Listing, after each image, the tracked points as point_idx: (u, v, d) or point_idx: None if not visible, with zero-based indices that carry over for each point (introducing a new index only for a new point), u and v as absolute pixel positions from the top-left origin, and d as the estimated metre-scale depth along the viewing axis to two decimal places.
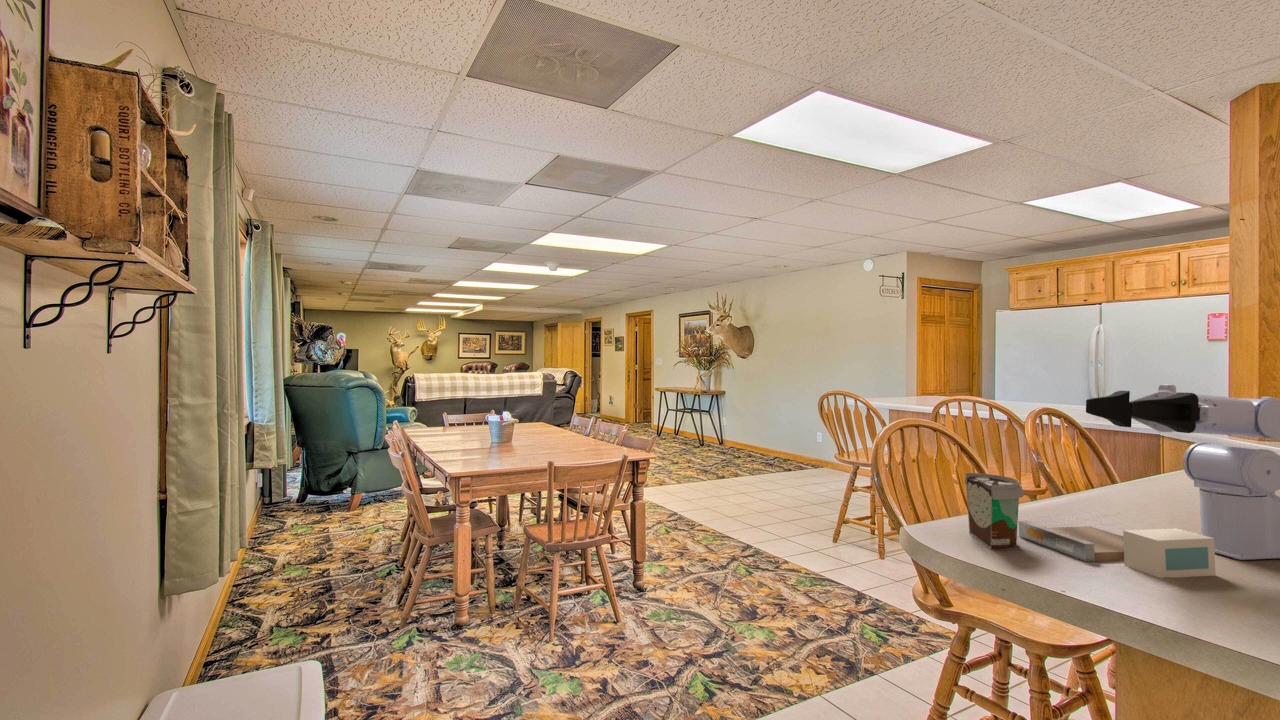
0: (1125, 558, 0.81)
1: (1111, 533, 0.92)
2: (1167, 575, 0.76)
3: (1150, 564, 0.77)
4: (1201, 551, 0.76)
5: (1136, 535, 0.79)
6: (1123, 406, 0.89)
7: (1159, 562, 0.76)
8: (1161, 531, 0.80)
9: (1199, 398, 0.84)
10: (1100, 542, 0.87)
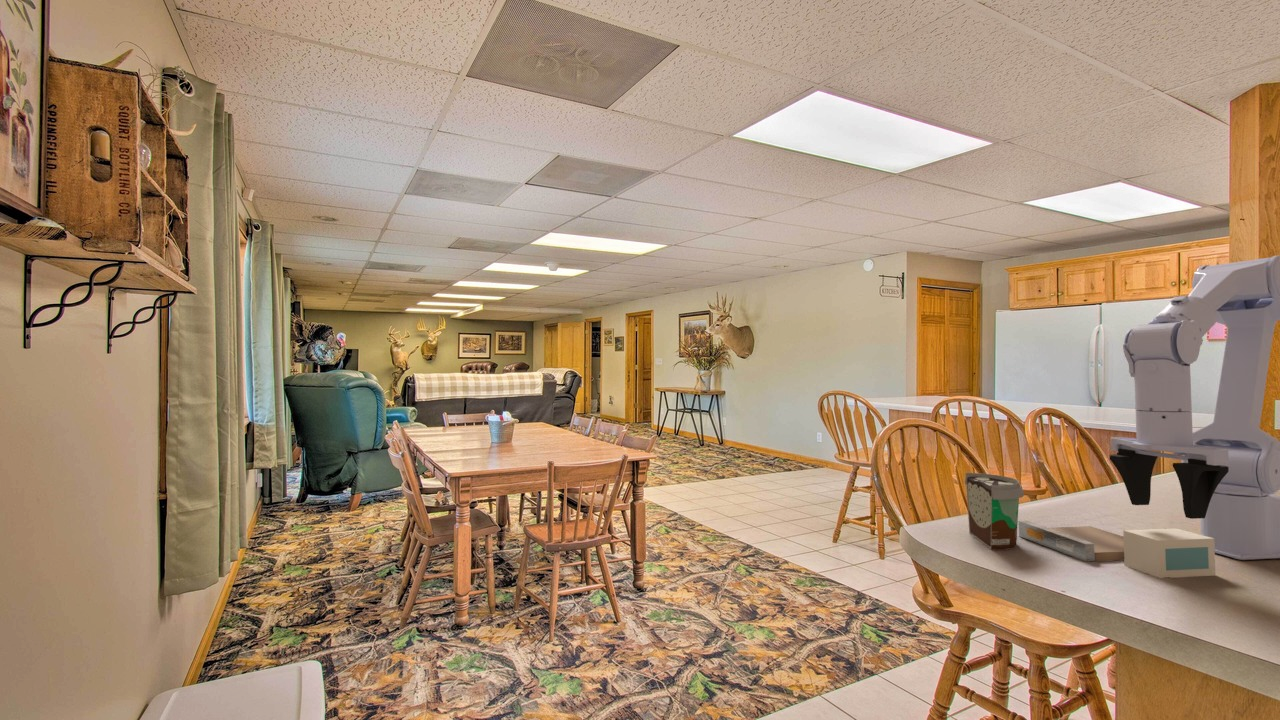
0: (1125, 558, 0.81)
1: (1111, 533, 0.92)
2: (1167, 575, 0.76)
3: (1150, 564, 0.77)
4: (1201, 551, 0.76)
5: (1136, 535, 0.79)
6: (1137, 464, 0.83)
7: (1159, 562, 0.76)
8: (1161, 531, 0.80)
9: (1160, 422, 0.77)
10: (1100, 542, 0.87)
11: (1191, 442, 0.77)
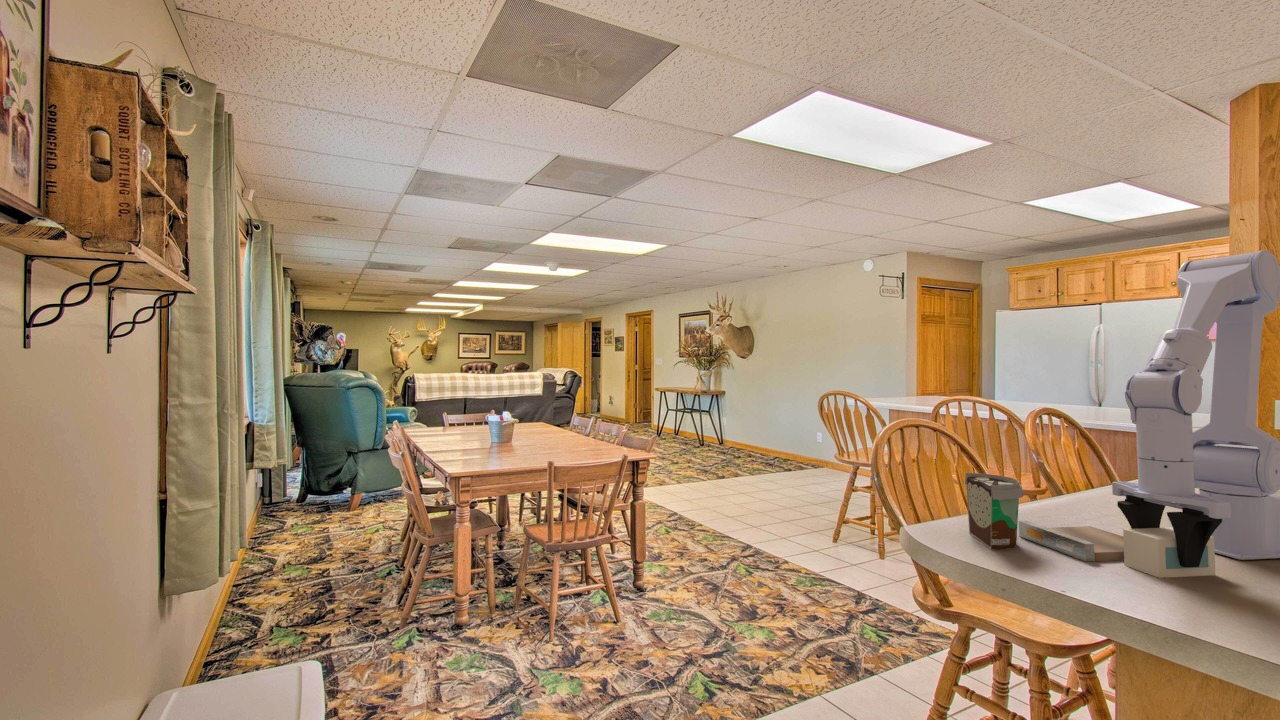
0: (1125, 557, 0.81)
1: (1111, 533, 0.92)
2: (1167, 574, 0.76)
3: (1150, 563, 0.77)
4: None
5: (1136, 534, 0.79)
6: (1145, 512, 0.81)
7: (1159, 561, 0.76)
8: (1161, 530, 0.80)
9: (1162, 472, 0.77)
10: (1100, 542, 0.87)
11: (1193, 492, 0.76)
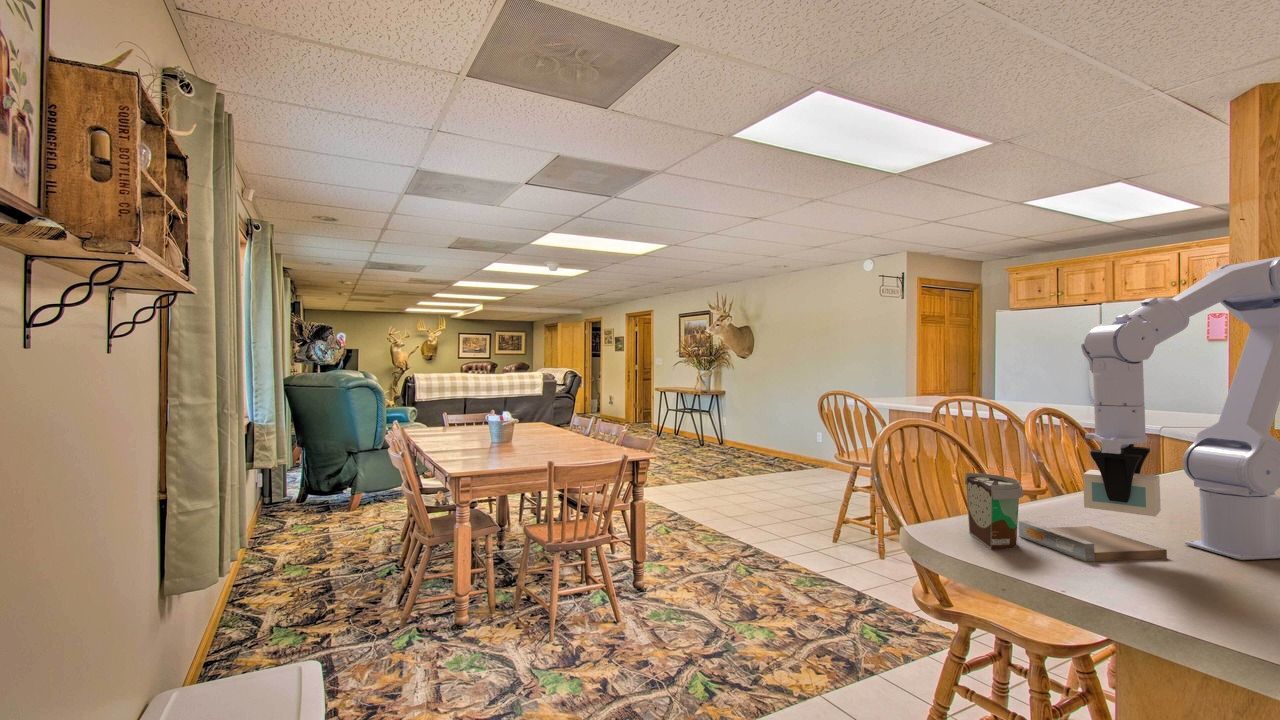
0: None
1: (1111, 533, 0.92)
2: (1094, 505, 0.85)
3: None
4: (1136, 490, 0.82)
5: (1087, 472, 0.88)
6: None
7: (1084, 493, 0.86)
8: None
9: (1097, 415, 0.86)
10: (1100, 542, 0.87)
11: (1127, 434, 0.82)
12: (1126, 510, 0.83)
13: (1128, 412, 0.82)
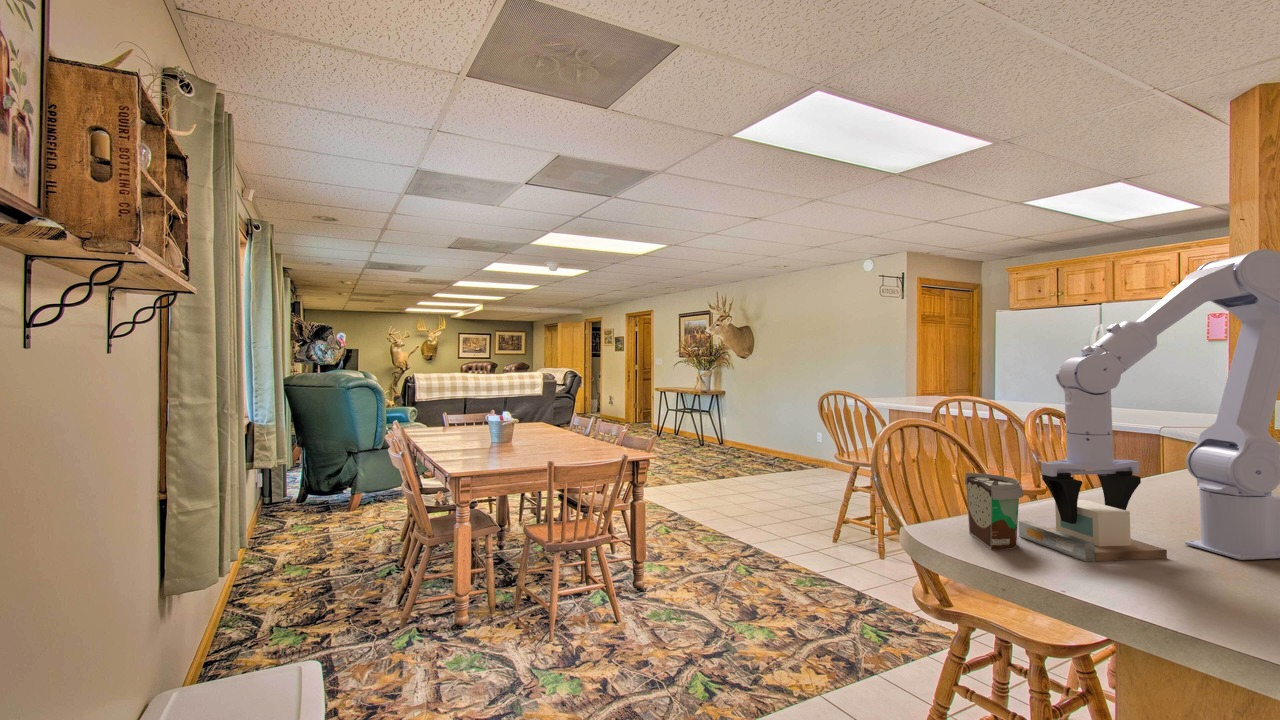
0: None
1: None
2: (1062, 531, 0.92)
3: None
4: (1087, 520, 0.87)
5: None
6: (1110, 483, 0.90)
7: (1056, 518, 0.93)
8: (1102, 506, 0.89)
9: None
10: None
11: (1080, 460, 0.88)
12: (1081, 538, 0.89)
13: (1081, 440, 0.88)
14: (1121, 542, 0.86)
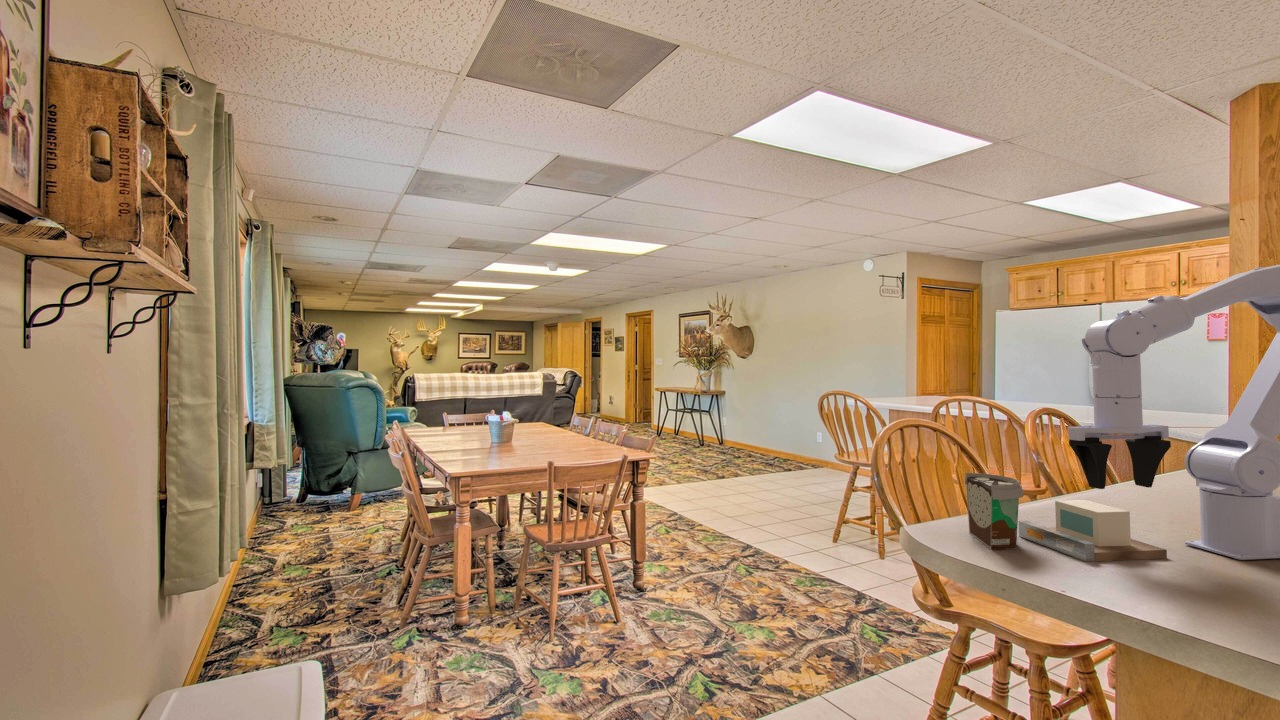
0: None
1: None
2: (1062, 531, 0.92)
3: None
4: (1087, 520, 0.87)
5: (1072, 501, 0.94)
6: (1139, 448, 0.89)
7: (1056, 518, 0.93)
8: (1102, 506, 0.89)
9: None
10: None
11: (1109, 424, 0.87)
12: (1081, 538, 0.89)
13: (1110, 403, 0.87)
14: (1121, 542, 0.86)
